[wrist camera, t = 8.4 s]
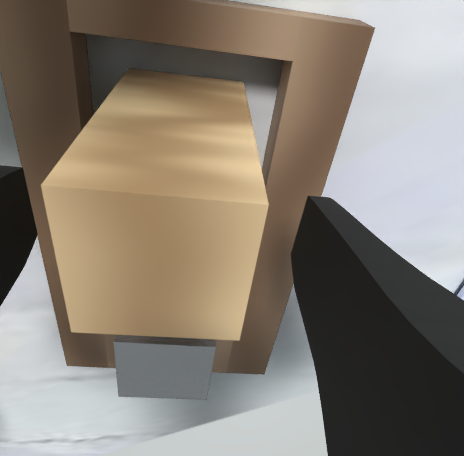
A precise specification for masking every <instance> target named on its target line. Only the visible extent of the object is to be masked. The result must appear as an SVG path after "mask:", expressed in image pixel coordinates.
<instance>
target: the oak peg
mask: <svg viewBox="0 0 464 456" xmlns="http://www.w3.org/2000/svg"><path fill="white" fill-rule="evenodd" d="M41 189H42V193H43V198H44V203H45V208H46V213H47V217H48V222H49V227H50V232H51V237H52V242H53V246H54V251H55V256H56V261H57V266H58V270H59V275H60V280H61V285H62V290H63V295H64V299H65V304H66V309H67V314H68V319H69V323H70V328H71V332H76V333H96V334H116V335H137V336H157V337H177V338H197V339H218V340H238V341H239V340H240V336H241V331H242V326H243V322H244V317H245V313H246V308H247V303H248V299H249V294H250V289H251V285H252V280H253V276H254V271H255V266H256V262H257V257H258V252H259V248H260V243H261V239H262V234H263V229H264V225H265V220H266V215H267V211H268V206H269V203H268V199H267V194H266V189H265V184H264V179H263V174H262V169H261V164H260V160H259V155H258V150H257V145H256V140H255V135H254V130H253V125H252V121H251V116H250V111H249V106H248V101H247V96H246V91H245V86H244V82H242V81H233V80H225V79H217V78H208V77H200V76H191V75H183V74H175V73H166V72H158V71H149V70H141V69H133V68H128V70H127V71H126V72H125V74H124V75H123V76H122V78H121V79H120V80H119V82H118V83H117V84H116V86H115V87H114V88H113V90H112V91H111V92H110V94H109V95H108V96H107V98H106V99H105V100H104V102H103V103H102V104H101V106H100V107H99V108H98V110H97V111H96V112H95V114H94V115H93V116H92V118H91V119H90V120H89V122H88V123H87V124H86V126H85V127H84V128H83V130H82V131H81V132H80V134H79V135H78V136H77V138H76V139H75V140H74V142H73V143H72V144H71V146H70V147H69V148H68V150H67V151H66V152H65V154H64V155H63V156H62V158H61V159H60V160H59V162H58V163H57V164H56V166H55V167H54V168H53V170H52V171H51V172H50V174H49V175H48V176H47V178H46V179H45V180H44V182H43V183H42V184H41Z"/></svg>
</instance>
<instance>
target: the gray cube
mask: <svg viewBox="0 0 464 456" xmlns="http://www.w3.org/2000/svg"><path fill="white" fill-rule="evenodd" d="M215 348H216V339H197V338H177V337H157V336H137V335H115V339H114V352H115V363H116V374H117V384H118V395H119V397H146V398H175V399H203V400H207V395H208V389H209V383H210V377H211V371H212V366H213V360H214V354H215Z"/></svg>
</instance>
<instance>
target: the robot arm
mask: <svg viewBox="0 0 464 456" xmlns="http://www.w3.org/2000/svg"><path fill="white" fill-rule="evenodd" d="M37 234H38V233H37V229H36V224H35V220H34V215H33V211H32V206H31V202H30V197H29V193H28V188H27V184H26V179H25V175H24V170H23V168H21V167H11V166H1V165H0V306H1V304H2V303H3V301H4V299H5V298H6V296H7V295H8V293H9V291H10V290H11V288H12V286H13V285H14V283H15V281H16V280H17V278H18V276H19V275H20V273H21V271H22V270H23V268H24V266H25V264H26V261H27V259H28V257H29V255H30V252H31V250H32V247H33V245H34V242H35V240H36V237H37ZM291 264H292V273H293V281H294V287H295V292H296V296H297V300H298V303H299V307H300V311H301V315H302V319H303V323H304V326H305V330H306V334H307V338H308V342H309V345H310V349H311V353H312V357H313V361H314V366H315V370H316V375H317V381H318V387H319V394H320V400H321V407H322V413H323V421H324V429H325V437H326V444H327V452H328V456H464V286H463V287H462V289H461V290H460V292H459V293H458V295H457V296H456V295H455V294H453V293H452V292H450V291H449V290H447V289H446V288H444V287H443V286H441V285H440V284H438V283H437V282H435V281H433V280H432V279H431V278H429V277H428V276H426V275H425V274H423V273H422V272H421V271H419V270H418V269H417V268H415V267H414V266H413V265H411V264H410V263H409V262H407V261H406V260H405V259H403V258H402V257H401V256H400V255H398V254H397V253H396V252H394V251H393V250H392V249H391V248H390V247H388V246H387V245H386V244H385V243H383V242H382V241H381V240H380V239H379V238H378V237H376V236H375V235H374V234H373V233H372V232H370V231H369V230H368V229H367V228H366V227H365V226H364V225H362V224H361V223H360V222H359V221H358V220H357V219H356V218H354V217H353V216H352V215H351V214H350V213H349V212H348V211H346V210H345V209H344V208H343V207H342V206H340V205H339V204H338V203H337V202H335V201H334V200H333V199H331V198H328V197H318V196H308V197H307V200H306V203H305V207H304V210H303V214H302V217H301V220H300V224H299V227H298V231H297V234H296V237H295V241H294V244H293V248H292V251H291Z"/></svg>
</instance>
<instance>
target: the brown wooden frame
mask: <svg viewBox="0 0 464 456" xmlns="http://www.w3.org/2000/svg"><path fill="white" fill-rule="evenodd" d="M374 29H375V28H374V27H372V26H370V25H368V24H366V23H364V22H362V21H360V20H355V19H348V18H341V17H335V16H328V15H321V14H315V13H308V12H301V11H295V10H288V9H281V8H274V7H268V6H261V5H254V4H248V3H241V2H234V1H228V0H0V71H1V76H2V80H3V85H4V89H5V94H6V98H7V103H8V107H9V111H10V116H11V120H12V125H13V129H14V134H15V138H16V142H17V147H18V151H19V156H20V160H21V165H22V168H23V170H24V175H25V179H26V184H27V188H28V193H29V197H30V202H31V206H32V211H33V215H34V220H35V224H36V229H37V233H38V234H37V236H38V240H39V244H40V249H41V253H42V258H43V262H44V267H45V271H46V275H47V280H48V284H49V289H50V293H51V298H52V302H53V306H54V311H55V315H56V320H57V324H58V329H59V333H60V337H61V342H62V346H63V351H64V355H65V360H66V364H67V366H81V367H105V368H116V363H115V352H114V339H115V335H116V334H96V333H76V332H71V328H70V323H69V319H68V314H67V309H66V304H65V299H64V295H63V290H62V285H61V280H60V275H59V270H58V266H57V261H56V256H55V251H54V246H53V242H52V237H51V232H50V227H49V222H48V217H47V213H46V208H45V203H44V198H43V193H42V189H41V184H42V183H43V182H44V180H45V179H46V178H47V176H48V175H49V174H50V172H51V171H52V170H53V168H54V167H55V166H56V164H57V163H58V162H59V160H60V159H61V158H62V156H63V155H64V154H65V152H66V151H67V150H68V148H69V147H70V146H71V144H72V143H73V142H74V140H75V139H76V138H77V136H78V135H79V134H80V132H81V131H82V130H83V128H84V127H85V126H86V124H87V123H88V122H89V120H90V119H91V118H92V116H93V109H92V98H91V88H90V77H89V66H88V55H87V44H86V34H94V35H101V36H108V37H116V38H123V39H131V40H138V41H146V42H153V43H160V44H168V45H175V46H183V47H190V48H198V49H205V50H212V51H220V52H227V53H235V54H242V55H250V56H257V57H264V58H272V59H279V60H284V61H283V66H282V71H281V76H280V81H279V86H278V91H277V96H276V101H275V106H274V111H273V116H272V121H271V126H270V131H269V136H268V142H267V147H266V152H265V157H264V162H263V167H262V174H263V179H264V184H265V189H266V194H267V199H268V203H269V206H268V211H267V215H266V220H265V225H264V229H263V234H262V239H261V243H260V248H259V252H258V257H257V262H256V266H255V271H254V276H253V280H252V285H251V289H250V294H249V299H248V303H247V308H246V313H245V317H244V322H243V326H242V331H241V336H240V340H239V341H238V340H218V339H216V348H215V354H214V360H213V366H212V371H211V372H220V373H243V374H264V373H265V370H266V367H267V364H268V361H269V358H270V355H271V351H272V348H273V345H274V342H275V339H276V336H277V333H278V330H279V326H280V323H281V320H282V317H283V314H284V311H285V308H286V305H287V301H288V298H289V295H290V292H291V289H292V286H293V283H294V281H293V273H292V264H291V251H292V248H293V244H294V241H295V237H296V234H297V231H298V227H299V224H300V220H301V217H302V214H303V210H304V207H305V203H306V200H307V197H308V196H318V197H321V195H322V192H323V189H324V186H325V183H326V180H327V176H328V173H329V170H330V167H331V164H332V161H333V158H334V155H335V151H336V148H337V145H338V142H339V139H340V136H341V133H342V130H343V126H344V123H345V120H346V117H347V114H348V111H349V108H350V104H351V101H352V98H353V95H354V92H355V89H356V86H357V83H358V79H359V76H360V73H361V70H362V67H363V64H364V61H365V58H366V54H367V51H368V48H369V45H370V42H371V39H372V36H373V33H374Z"/></svg>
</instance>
